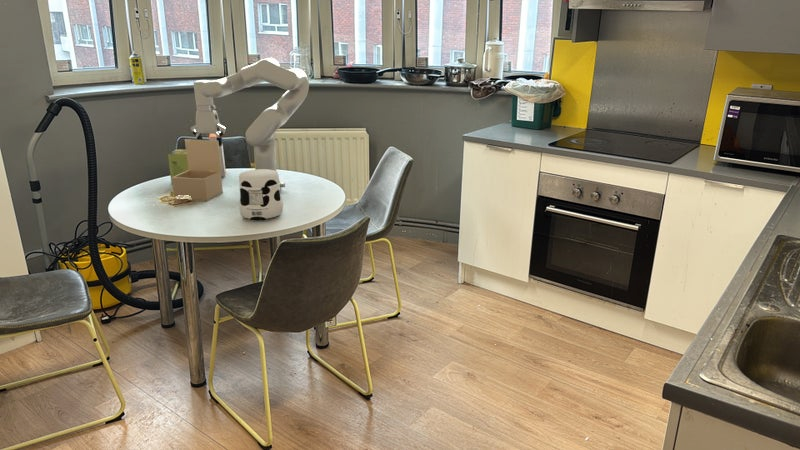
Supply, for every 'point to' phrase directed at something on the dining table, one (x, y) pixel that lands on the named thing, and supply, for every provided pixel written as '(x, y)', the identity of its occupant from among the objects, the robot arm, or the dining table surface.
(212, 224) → the dining table surface
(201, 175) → the carton
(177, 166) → the protein box
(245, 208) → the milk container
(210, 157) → the lid flap
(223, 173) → the cracker box
